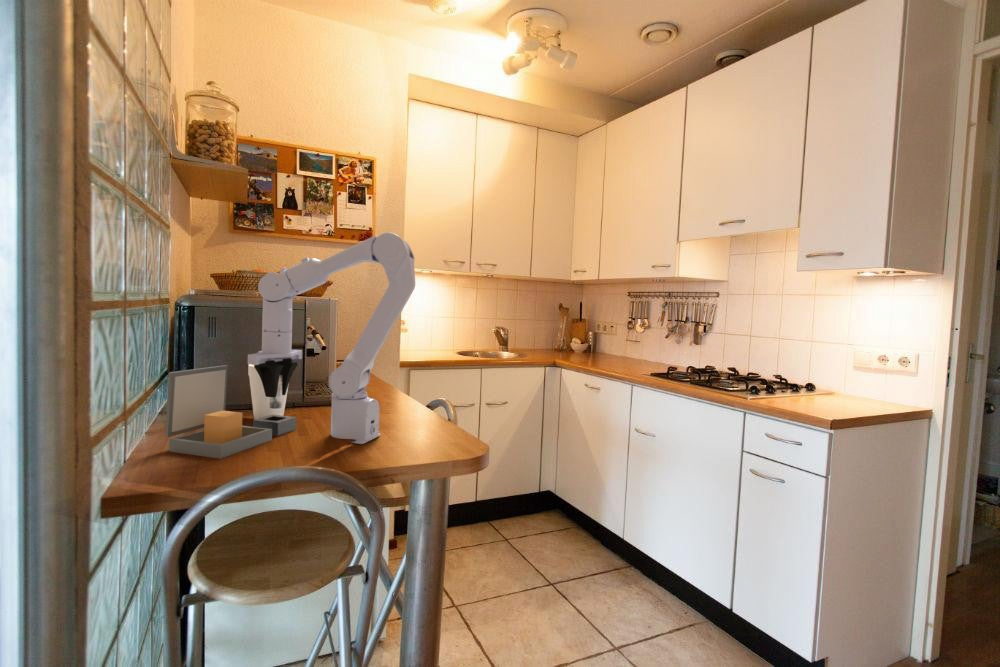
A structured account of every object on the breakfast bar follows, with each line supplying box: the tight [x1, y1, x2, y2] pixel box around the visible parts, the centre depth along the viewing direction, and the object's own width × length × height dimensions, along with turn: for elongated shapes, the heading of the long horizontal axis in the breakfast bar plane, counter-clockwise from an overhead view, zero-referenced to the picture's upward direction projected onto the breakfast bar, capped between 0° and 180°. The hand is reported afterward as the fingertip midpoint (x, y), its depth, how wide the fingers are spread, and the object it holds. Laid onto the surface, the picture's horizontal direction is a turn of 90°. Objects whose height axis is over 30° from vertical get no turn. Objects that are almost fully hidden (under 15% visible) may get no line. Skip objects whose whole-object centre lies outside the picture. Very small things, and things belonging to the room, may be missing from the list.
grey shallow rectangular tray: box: [168, 425, 273, 460], centre depth 94 cm, size 11×13×3 cm
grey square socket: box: [252, 415, 297, 437], centre depth 106 cm, size 6×6×4 cm
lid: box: [164, 364, 229, 438], centre depth 95 cm, size 12×13×1 cm
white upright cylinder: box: [269, 374, 283, 409], centre depth 106 cm, size 2×2×7 cm
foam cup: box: [247, 364, 290, 420], centre depth 120 cm, size 10×9×13 cm
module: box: [203, 410, 243, 444], centre depth 94 cm, size 4×4×6 cm
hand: (275, 395), depth 106 cm, fingers closed on white upright cylinder, 2 cm apart
